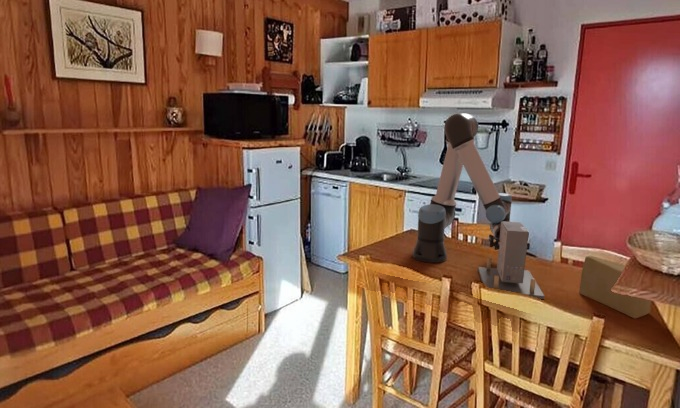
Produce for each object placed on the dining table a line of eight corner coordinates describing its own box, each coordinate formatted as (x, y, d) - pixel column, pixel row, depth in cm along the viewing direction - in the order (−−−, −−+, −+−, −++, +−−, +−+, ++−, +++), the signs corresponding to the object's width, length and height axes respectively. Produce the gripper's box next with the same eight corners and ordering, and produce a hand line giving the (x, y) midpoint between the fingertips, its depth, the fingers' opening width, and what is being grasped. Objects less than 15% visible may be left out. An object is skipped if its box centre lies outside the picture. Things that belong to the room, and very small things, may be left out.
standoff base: (485, 294, 165) (487, 278, 164) (478, 270, 190) (479, 255, 189) (544, 299, 162) (546, 282, 160) (528, 273, 187) (530, 258, 185)
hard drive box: (523, 284, 167) (529, 232, 163) (501, 282, 169) (506, 231, 164) (516, 269, 182) (520, 221, 178) (496, 268, 184) (500, 220, 179)
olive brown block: (571, 295, 166) (576, 256, 163) (587, 290, 171) (592, 252, 168) (634, 320, 147) (641, 276, 144) (650, 313, 152) (657, 271, 149)
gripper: (528, 244, 191) (541, 262, 169) (477, 241, 195) (484, 258, 173) (529, 227, 190) (543, 243, 168) (479, 224, 193) (485, 239, 171)
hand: (513, 251), depth 170 cm, fingers closed on hard drive box, 7 cm apart
